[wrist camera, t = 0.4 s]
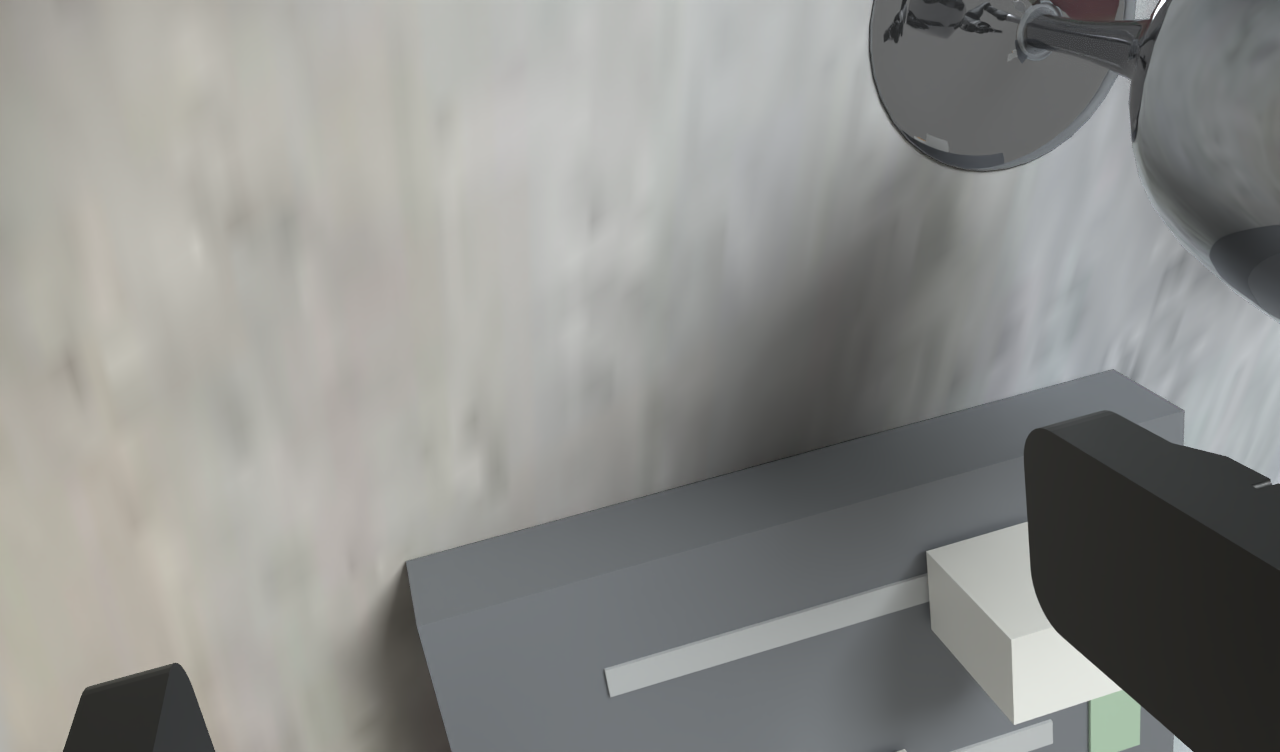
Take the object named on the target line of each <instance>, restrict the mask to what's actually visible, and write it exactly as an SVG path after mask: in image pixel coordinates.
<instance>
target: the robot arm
mask: <svg viewBox="0 0 1280 752" xmlns="http://www.w3.org/2000/svg"><path fill="white" fill-rule="evenodd" d="M1024 473H1025V489H1026V505H1027V521H1028V537H1029V553H1030V569H1031V577H1032V582H1033V587H1034V590H1035V594H1036V596H1037V599H1038V602H1039V604H1040V606H1041V608H1042V611H1043V612H1044V614H1045V616H1046V618H1047V619H1048V621H1049V622H1050V624H1051V625H1052V627H1053V628H1054V629H1055V630H1056V632H1057V633H1058V634H1059V635H1060V636H1062V637H1063V638H1064V639H1065V640H1066V641H1067V642H1068V643H1070V644H1071V645H1072V646H1073V647H1074V648H1075V649H1076V650H1078V651H1079V652H1080V653H1081V654H1082V655H1083V656H1084V657H1086V658H1087V659H1088V660H1089V661H1090V662H1091V663H1092V664H1094V665H1095V666H1096V667H1097V668H1098V669H1099V670H1100V671H1102V672H1103V673H1104V674H1105V675H1106V676H1107V677H1108V678H1110V679H1111V680H1112V681H1113V682H1114V683H1115V684H1117V685H1118V686H1119V687H1120V688H1121V689H1122V690H1123V691H1125V692H1126V693H1127V694H1128V695H1129V696H1130V697H1131V698H1133V699H1134V700H1135V701H1136V702H1137V703H1138V704H1139V705H1141V706H1142V707H1143V708H1144V709H1145V710H1146V711H1147V712H1149V713H1150V714H1151V715H1152V716H1153V717H1154V718H1155V719H1157V720H1158V721H1159V722H1160V723H1161V724H1162V725H1164V726H1165V727H1166V728H1167V729H1168V730H1169V731H1170V732H1172V733H1173V734H1174V735H1175V736H1176V737H1177V738H1178V739H1180V740H1181V741H1182V742H1183V743H1184V744H1185V745H1186V746H1188V747H1189V748H1190V749H1191V750H1192V751H1193V752H1280V484H1275V485H1272V483H1271V481H1270V479H1269V478H1267V477H1265V476H1263V475H1261V474H1260V473H1258V472H1256V471H1254V470H1252V469H1250V468H1248V467H1246V466H1244V465H1242V464H1240V463H1238V462H1236V461H1234V460H1232V459H1231V458H1229V457H1226V456H1222V455H1218V454H1214V453H1210V452H1206V451H1202V450H1198V449H1194V448H1190V447H1186V446H1182V445H1178V444H1174V443H1171V442H1169V441H1167V440H1165V439H1163V438H1162V437H1160V436H1158V435H1156V434H1154V433H1152V432H1150V431H1148V430H1147V429H1145V428H1143V427H1141V426H1139V425H1137V424H1135V423H1133V422H1132V421H1130V420H1128V419H1126V418H1124V417H1122V416H1120V415H1119V414H1117V413H1114V412H1112V411H1107V410H1103V411H1098V412H1095V413H1091V414H1088V415H1084V416H1080V417H1077V418H1073V419H1069V420H1066V421H1062V422H1058V423H1055V424H1051V425H1047V426H1044V427H1040V428H1037V429H1034V430H1033V431H1031V432H1030V434H1029V435H1028V437H1027V439H1026V442H1025V446H1024ZM63 752H215V750H214V747H213V744H212V741H211V739H210V736H209V733H208V730H207V727H206V724H205V721H204V719H203V716H202V713H201V710H200V707H199V704H198V702H197V699H196V696H195V693H194V690H193V688H192V685H191V682H190V680H189V678H188V676H187V674H186V672H185V671H184V669H183V668H182V666H181V665H179V664H178V663H173V664H169V665H166V666H162V667H158V668H155V669H151V670H147V671H144V672H140V673H137V674H133V675H129V676H126V677H122V678H118V679H115V680H111V681H107V682H104V683H100V684H96V685H93V686H89V687H87V688H86V689H85V690H84V691H83V693H82V696H81V698H80V701H79V704H78V707H77V711H76V714H75V717H74V720H73V723H72V726H71V729H70V732H69V735H68V738H67V741H66V744H65V747H64V750H63Z"/></svg>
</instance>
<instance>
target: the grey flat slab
mask: <svg viewBox="0 0 1280 752" xmlns="http://www.w3.org/2000/svg"><path fill="white" fill-rule="evenodd" d="M1103 410H1107V411H1112V412H1114V413H1117V414H1119V415H1120V416H1122V417H1124V418H1126V419H1128V420H1130V421H1132V422H1133V423H1135V424H1137V425H1139V426H1141V427H1143V428H1145V429H1147V430H1148V431H1150V432H1152V433H1154V434H1156V435H1158V436H1160V437H1162V438H1163V439H1165V440H1167V441H1169V442H1171V443H1174V444H1178V445H1182V446H1183V442H1184V413H1185V410H1183V409H1181V408H1179V407H1178V406H1176V405H1174V404H1172V403H1171V402H1169V401H1167V400H1166V399H1164V398H1162V397H1160V396H1159V395H1157V394H1155V393H1154V392H1152V391H1150V390H1148V389H1147V388H1145V387H1143V386H1142V385H1140V384H1138V383H1136V382H1135V381H1133V380H1131V379H1129V378H1128V377H1126V376H1124V375H1123V374H1121V373H1119V372H1117V371H1116V370H1114V369H1112V370H1109V371H1105V372H1101V373H1098V374H1094V375H1090V376H1087V377H1083V378H1079V379H1076V380H1072V381H1068V382H1065V383H1061V384H1057V385H1053V386H1050V387H1046V388H1042V389H1039V390H1035V391H1031V392H1028V393H1024V394H1020V395H1017V396H1013V397H1009V398H1006V399H1002V400H998V401H995V402H991V403H987V404H984V405H980V406H976V407H972V408H969V409H965V410H961V411H958V412H954V413H950V414H947V415H943V416H939V417H936V418H932V419H928V420H925V421H921V422H917V423H914V424H910V425H906V426H903V427H899V428H895V429H891V430H888V431H884V432H880V433H877V434H873V435H869V436H866V437H862V438H858V439H855V440H851V441H847V442H844V443H840V444H836V445H833V446H829V447H825V448H822V449H818V450H814V451H810V452H807V453H803V454H799V455H796V456H792V457H788V458H785V459H781V460H777V461H774V462H770V463H766V464H763V465H759V466H755V467H752V468H748V469H744V470H741V471H737V472H733V473H729V474H726V475H722V476H718V477H715V478H711V479H707V480H704V481H700V482H696V483H693V484H689V485H685V486H682V487H678V488H674V489H671V490H667V491H663V492H660V493H656V494H652V495H648V496H645V497H641V498H637V499H634V500H630V501H626V502H623V503H619V504H615V505H612V506H608V507H604V508H601V509H597V510H593V511H590V512H586V513H582V514H579V515H575V516H571V517H567V518H564V519H560V520H556V521H553V522H549V523H545V524H542V525H538V526H534V527H531V528H527V529H523V530H520V531H516V532H512V533H509V534H505V535H501V536H498V537H494V538H490V539H486V540H483V541H479V542H475V543H472V544H468V545H464V546H461V547H457V548H453V549H450V550H446V551H442V552H439V553H435V554H431V555H428V556H424V557H420V558H417V559H413V560H409V561H406V566H407V571H408V577H409V583H410V589H411V595H412V601H413V607H414V613H415V619H416V625H417V629H418V633H419V636H420V640H421V644H422V647H423V651H424V654H425V658H426V662H427V665H428V669H429V672H430V676H431V680H432V683H433V687H434V690H435V694H436V697H437V701H438V705H439V708H440V712H441V715H442V719H443V723H444V726H445V730H446V733H447V737H448V741H449V744H450V748H451V751H452V752H897V751H900V750H903V749H905V750H906V751H907V752H1173V740H1174V734H1173V733H1172V732H1170V731H1169V730H1168V729H1167V728H1166V727H1165V726H1164V725H1162V724H1161V723H1160V722H1159V721H1158V720H1157V719H1155V718H1154V717H1153V716H1152V715H1151V714H1150V713H1149V712H1147V711H1146V710H1145V709H1144V708H1143V707H1142V706H1141V705H1139V704H1138V703H1137V702H1136V701H1135V700H1134V699H1133V698H1131V697H1130V696H1129V695H1128V694H1127V693H1126V692H1125V691H1123V690H1120V691H1117V692H1114V693H1111V694H1108V695H1105V696H1102V697H1099V698H1096V699H1093V700H1090V701H1087V702H1084V703H1080V704H1077V705H1074V706H1071V707H1068V708H1065V709H1062V710H1059V711H1056V712H1053V713H1050V714H1047V715H1044V716H1041V717H1037V718H1034V719H1031V720H1028V721H1025V722H1022V723H1019V724H1016V725H1014V724H1013V723H1012V722H1011V721H1010V720H1009V718H1008V717H1007V716H1006V715H1005V714H1004V713H1003V712H1002V710H1001V709H1000V708H999V707H998V706H997V705H996V703H995V702H994V701H993V700H992V699H991V698H990V696H989V695H988V694H987V693H986V692H985V691H984V690H983V688H982V687H981V686H980V685H979V684H978V683H977V681H976V680H975V679H974V678H973V677H972V676H971V675H970V673H969V672H968V671H967V670H966V669H965V668H964V666H963V665H962V664H961V663H960V662H959V661H958V660H957V658H956V657H955V656H954V655H953V654H952V653H951V651H950V650H949V649H948V648H947V647H946V646H945V645H944V643H943V642H942V641H941V640H940V639H939V638H938V636H937V635H936V634H935V633H934V632H933V631H932V630H931V616H930V601H929V586H928V571H927V556H926V551H929V550H932V549H935V548H939V547H942V546H946V545H949V544H953V543H956V542H959V541H963V540H966V539H970V538H973V537H976V536H980V535H983V534H987V533H990V532H994V531H997V530H1000V529H1004V528H1007V527H1011V526H1014V525H1017V524H1021V523H1024V522H1028V521H1027V505H1026V489H1025V473H1024V446H1025V442H1026V439H1027V437H1028V435H1029V434H1030V432H1031V431H1033V430H1034V429H1037V428H1040V427H1044V426H1047V425H1051V424H1055V423H1058V422H1062V421H1066V420H1069V419H1073V418H1077V417H1080V416H1084V415H1088V414H1091V413H1095V412H1098V411H1103Z"/></svg>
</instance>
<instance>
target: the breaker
mask: <svg viewBox="0 0 1280 752" xmlns="http://www.w3.org/2000/svg"><path fill="white" fill-rule="evenodd" d="M926 556H927V571H928V586H929V601H930V616H931V630H932V631H933V632H934V633H935V634H936V635H937V636H938V638H939V639H940V640H941V641H942V642H943V643H944V645H945V646H946V647H947V648H948V649H949V650H950V651H951V653H952V654H953V655H954V656H955V657H956V658H957V660H958V661H959V662H960V663H961V664H962V665H963V666H964V668H965V669H966V670H967V671H968V672H969V673H970V675H971V676H972V677H973V678H974V679H975V680H976V681H977V683H978V684H979V685H980V686H981V687H982V688H983V690H984V691H985V692H986V693H987V694H988V695H989V696H990V698H991V699H992V700H993V701H994V702H995V703H996V705H997V706H998V707H999V708H1000V709H1001V710H1002V712H1003V713H1004V714H1005V715H1006V716H1007V717H1008V718H1009V720H1010V721H1011V722H1012V723H1013V724H1014V725H1016V724H1019V723H1022V722H1025V721H1028V720H1031V719H1034V718H1037V717H1041V716H1044V715H1047V714H1050V713H1053V712H1056V711H1059V710H1062V709H1065V708H1068V707H1071V706H1074V705H1077V704H1080V703H1084V702H1087V701H1090V700H1093V699H1096V698H1099V697H1102V696H1105V695H1108V694H1111V693H1114V692H1117V691H1120V690H1122V689H1121V688H1120V687H1119V686H1118V685H1117V684H1115V683H1114V682H1113V681H1112V680H1111V679H1110V678H1108V677H1107V676H1106V675H1105V674H1104V673H1103V672H1102V671H1100V670H1099V669H1098V668H1097V667H1096V666H1095V665H1094V664H1092V663H1091V662H1090V661H1089V660H1088V659H1087V658H1086V657H1084V656H1083V655H1082V654H1081V653H1080V652H1079V651H1078V650H1076V649H1075V648H1074V647H1073V646H1072V645H1071V644H1070V643H1068V642H1067V641H1066V640H1065V639H1064V638H1063V637H1062V636H1060V635H1059V634H1058V633H1057V632H1056V630H1055V629H1054V628H1053V627H1052V625H1051V624H1050V622H1049V621H1048V619H1047V618H1046V616H1045V614H1044V612H1043V611H1042V608H1041V606H1040V604H1039V602H1038V599H1037V596H1036V594H1035V590H1034V587H1033V582H1032V577H1031V569H1030V553H1029V537H1028V522H1024V523H1021V524H1017V525H1014V526H1011V527H1007V528H1004V529H1000V530H997V531H994V532H990V533H987V534H983V535H980V536H976V537H973V538H970V539H966V540H963V541H959V542H956V543H953V544H949V545H946V546H942V547H939V548H935V549H932V550H929V551H926Z"/></svg>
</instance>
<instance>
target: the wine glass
mask: <svg viewBox="0 0 1280 752" xmlns="http://www.w3.org/2000/svg"><path fill="white" fill-rule="evenodd" d="M1135 10H1136V0H874V5H873V11H872V17H871V23H870V56H871V63H872V70H873V77H874V80H875V83H876V86H877V89H878V92H879V96H880V99H881V101H882V103H883V105H884V107H885V109H886V111H887V113H888V114H889V116H890V118H891V120H892V122H893V123H894V124H895V126H896V127H897V128H898V129H899V130H900V132H901V133H902V134H903V135H904V137H905V138H906V139H907V140H908V141H909V142H910V143H912V144H913V145H914V146H915V147H917V148H918V149H919V150H920V151H921V152H923V153H924V154H926V155H928V156H929V157H931V158H933V159H935V160H937V161H939V162H941V163H943V164H946V165H950V166H953V167H957V168H960V169H964V170H977V171H991V170H999V169H1008V168H1011V167H1014V166H1017V165H1021V164H1024V163H1027V162H1030V161H1032V160H1034V159H1036V158H1038V157H1040V156H1042V155H1044V154H1046V153H1048V152H1050V151H1052V150H1053V149H1055V148H1056V147H1057V146H1059V145H1060V144H1062V143H1063V142H1064V141H1066V140H1067V139H1069V138H1070V137H1071V136H1072V135H1073V134H1074V133H1075V132H1076V131H1077V130H1078V129H1079V128H1081V127H1082V126H1083V125H1084V124H1085V123H1086V122H1087V121H1088V120H1089V119H1090V117H1091V116H1092V115H1093V113H1094V112H1095V111H1096V110H1097V108H1098V107H1099V106H1100V104H1101V103H1102V102H1103V100H1104V99H1105V98H1106V96H1107V94H1108V92H1109V91H1110V89H1111V87H1112V85H1113V83H1114V82H1115V80H1116V78H1117V76H1118V74H1119V75H1121V76H1123V77H1125V78H1127V79H1128V80H1130V81H1131V87H1130V96H1129V120H1130V135H1131V142H1132V148H1133V152H1134V157H1135V161H1136V166H1137V170H1138V175H1139V178H1140V180H1141V183H1142V185H1143V187H1144V190H1145V192H1146V194H1147V197H1148V199H1149V201H1150V203H1151V205H1152V206H1153V208H1154V209H1155V210H1156V212H1157V213H1158V215H1159V216H1160V218H1161V219H1162V220H1163V222H1164V223H1165V225H1166V226H1167V227H1168V229H1169V230H1170V231H1171V233H1172V234H1173V235H1174V236H1175V238H1176V239H1177V240H1178V242H1179V243H1180V244H1181V246H1183V247H1184V248H1185V249H1186V250H1187V251H1188V252H1189V253H1190V254H1191V255H1193V256H1194V257H1195V258H1196V259H1197V260H1198V261H1199V262H1200V263H1201V264H1203V265H1204V266H1205V267H1206V268H1207V269H1208V270H1209V271H1211V272H1212V273H1213V274H1214V275H1215V276H1216V277H1217V278H1218V279H1220V280H1221V281H1222V282H1223V283H1224V284H1225V285H1226V286H1227V287H1229V288H1230V289H1231V290H1232V291H1233V292H1234V293H1235V294H1237V295H1238V296H1240V297H1241V298H1242V299H1244V300H1245V301H1247V302H1248V303H1250V304H1251V305H1253V306H1254V307H1255V308H1257V309H1258V310H1260V311H1261V312H1263V313H1264V314H1266V315H1267V316H1269V317H1270V318H1271V319H1273V320H1274V321H1276V322H1277V323H1279V324H1280V0H1159V2H1158V4H1157V5H1156V7H1155V9H1154V11H1153V12H1152V14H1151V16H1150V18H1146V19H1135ZM1134 19H1135V20H1134Z"/></svg>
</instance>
